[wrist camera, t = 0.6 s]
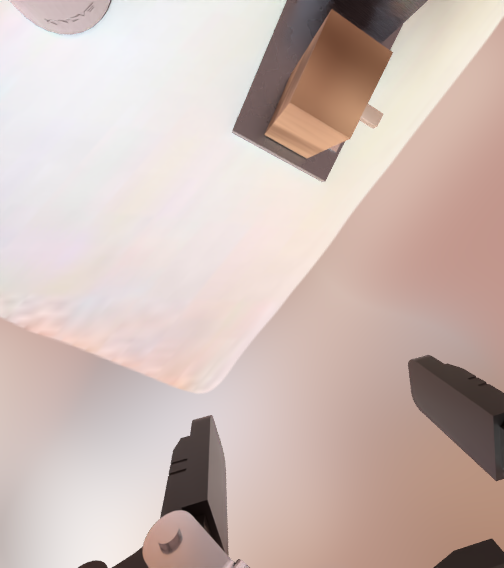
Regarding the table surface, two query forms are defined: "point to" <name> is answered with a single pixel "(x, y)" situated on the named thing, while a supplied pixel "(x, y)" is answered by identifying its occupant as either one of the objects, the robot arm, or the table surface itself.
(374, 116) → the block
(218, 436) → the robot arm
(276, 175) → the table surface
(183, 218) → the table surface
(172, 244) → the table surface
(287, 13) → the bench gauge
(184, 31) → the table surface
